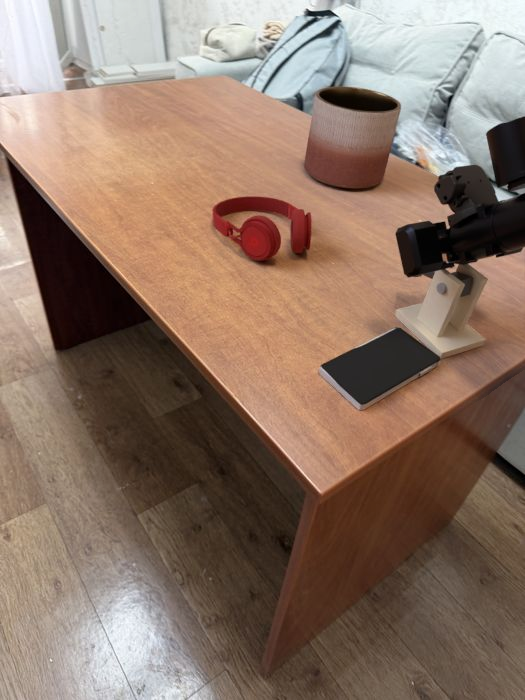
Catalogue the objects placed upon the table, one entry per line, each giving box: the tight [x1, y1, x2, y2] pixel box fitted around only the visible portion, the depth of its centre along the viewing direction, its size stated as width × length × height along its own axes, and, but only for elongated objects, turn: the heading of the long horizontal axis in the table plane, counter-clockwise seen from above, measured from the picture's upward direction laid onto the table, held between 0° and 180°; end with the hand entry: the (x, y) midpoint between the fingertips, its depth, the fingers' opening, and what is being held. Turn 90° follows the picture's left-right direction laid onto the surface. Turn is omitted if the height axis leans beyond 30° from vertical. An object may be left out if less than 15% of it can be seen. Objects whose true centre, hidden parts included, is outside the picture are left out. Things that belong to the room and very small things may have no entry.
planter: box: [303, 85, 402, 190], centre depth 103 cm, size 18×18×16 cm
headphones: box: [212, 195, 312, 261], centre depth 84 cm, size 15×7×20 cm
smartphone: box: [318, 326, 441, 411], centre depth 63 cm, size 8×1×15 cm
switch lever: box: [413, 271, 473, 297], centre depth 68 cm, size 11×3×3 cm, turn 26°
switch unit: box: [394, 263, 489, 360], centre depth 67 cm, size 10×8×10 cm
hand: (418, 254), depth 70 cm, fingers closed, pressing on switch unit
